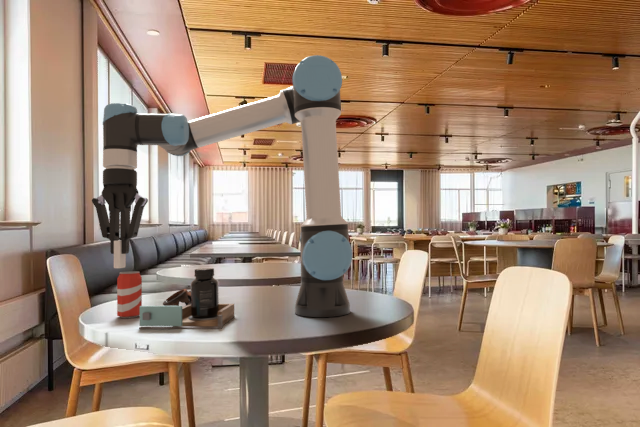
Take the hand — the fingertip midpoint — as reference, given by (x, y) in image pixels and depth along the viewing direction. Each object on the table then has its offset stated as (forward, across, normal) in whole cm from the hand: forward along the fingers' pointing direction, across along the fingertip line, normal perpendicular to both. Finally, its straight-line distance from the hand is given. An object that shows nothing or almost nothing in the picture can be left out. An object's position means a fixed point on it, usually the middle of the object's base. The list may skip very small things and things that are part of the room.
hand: (119, 267), depth 109 cm
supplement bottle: (+13, -18, -8) cm, 24 cm away
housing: (+14, -15, -7) cm, 22 cm away
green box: (+14, -10, 0) cm, 18 cm away
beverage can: (+15, +5, -15) cm, 21 cm away
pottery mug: (+15, -10, -17) cm, 25 cm away
